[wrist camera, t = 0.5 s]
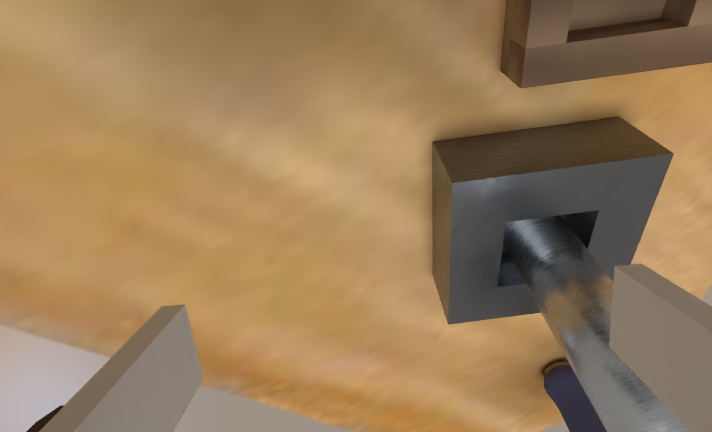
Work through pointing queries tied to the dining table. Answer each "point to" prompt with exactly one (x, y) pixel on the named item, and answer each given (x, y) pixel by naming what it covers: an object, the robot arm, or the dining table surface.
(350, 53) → the dining table surface
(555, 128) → the socket
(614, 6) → the wooden square tray
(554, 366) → the rubber mallet
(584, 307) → the brushed metal peg
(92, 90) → the dining table surface
